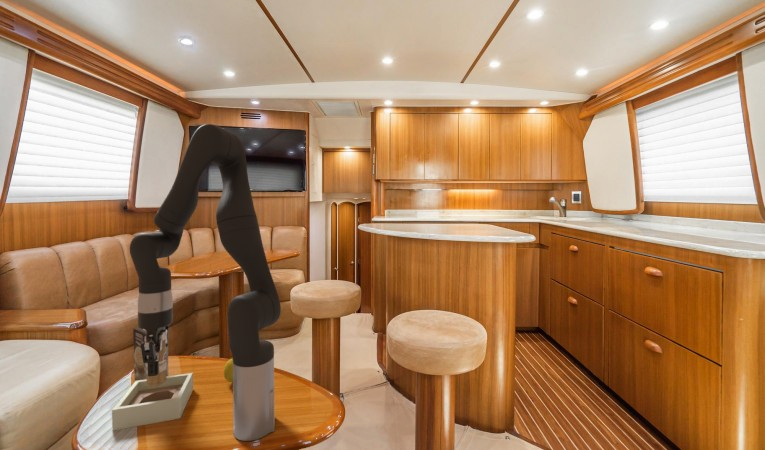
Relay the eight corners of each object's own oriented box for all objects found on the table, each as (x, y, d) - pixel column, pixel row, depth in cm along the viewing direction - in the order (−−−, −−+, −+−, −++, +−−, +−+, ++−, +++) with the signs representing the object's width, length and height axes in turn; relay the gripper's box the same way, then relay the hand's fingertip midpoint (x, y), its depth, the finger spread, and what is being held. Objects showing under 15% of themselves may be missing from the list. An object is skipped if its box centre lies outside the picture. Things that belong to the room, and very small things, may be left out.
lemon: (247, 381, 98) (247, 356, 98) (230, 389, 93) (230, 363, 93) (236, 376, 101) (236, 351, 100) (220, 384, 96) (219, 358, 96)
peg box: (193, 389, 93) (192, 372, 93) (180, 418, 80) (179, 399, 80) (136, 398, 89) (135, 380, 88) (112, 430, 75) (112, 410, 75)
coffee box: (133, 377, 100) (131, 327, 99) (155, 369, 105) (154, 321, 105) (146, 386, 95) (145, 333, 94) (170, 376, 100) (169, 327, 100)
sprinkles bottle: (166, 384, 84) (165, 334, 83) (145, 389, 81) (144, 337, 81) (167, 376, 87) (166, 328, 87) (146, 381, 85) (145, 332, 84)
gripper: (163, 314, 78) (164, 382, 79) (179, 299, 91) (180, 357, 92) (126, 317, 76) (128, 387, 76) (148, 301, 89) (149, 360, 90)
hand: (156, 370), depth 84 cm, fingers closed on sprinkles bottle, 4 cm apart
